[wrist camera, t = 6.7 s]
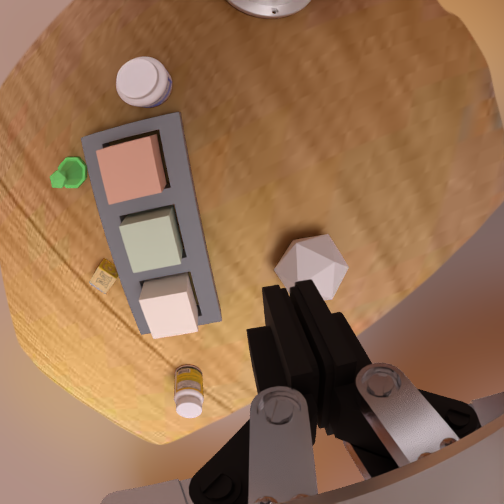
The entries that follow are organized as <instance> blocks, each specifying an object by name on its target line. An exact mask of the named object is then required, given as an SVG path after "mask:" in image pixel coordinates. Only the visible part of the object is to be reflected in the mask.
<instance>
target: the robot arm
mask: <svg viewBox="0 0 504 504" xmlns="http://www.w3.org/2000/svg"><path fill="white" fill-rule="evenodd" d="M227 1H228V2H229V3H230V4H231V5H232V6H233V7H235V8H236V9H238V10H239V11H242V12H244V13H246V14H248V15H252V16H255V17H260V18H282V17H287V16H290V15H293V14H295V13H297V12H298V11H300V10H302V9H303V8H304V7H305V6H306V5H307V4H308V3H309V2H310V1H311V0H227ZM272 12H275V14H273V13H272ZM262 294H263V304H264V314H265V324H266V326H263V327H257V328H251V329H247V337H248V344H249V350H250V356H251V362H252V367H253V372H254V377H255V382H256V387H257V392H258V395H256V396H255V398H254V399H253V401H252V403H251V408H250V419H249V420H248V421H247V422H246V423H245V424H244V426H242V428H241V429H240V430H239V431H238V432H237V433H236V434H235V435H234V436H233V437H232V438H231V439H230V440H229V441H228V442H227V443H226V444H225V445H224V446H223V447H222V448H221V449H220V450H219V451H218V452H217V453H216V454H215V455H214V456H213V457H212V458H211V459H210V460H209V461H208V462H207V463H206V464H205V465H204V466H203V467H202V468H201V469H200V470H199V471H198V472H197V473H196V474H195V475H194V476H193V478H190V479H186V480H182V481H179V480H178V479H175V480H171V481H167V482H163V483H158V484H154V485H149V486H144V487H139V488H133V489H128V490H122V491H116V492H113V493H110V494H108V495H107V496H106V497H105V498H104V499H103V500H102V503H101V504H504V392H501V393H498V394H494V395H491V396H487V397H483V398H480V399H475V400H472V401H471V402H470V404H466V403H464V402H461V401H458V400H455V399H451V398H447V397H444V396H440V395H437V394H433V393H429V392H427V391H423V390H420V389H417V388H416V387H415V386H414V385H413V384H412V383H411V381H410V380H409V379H408V378H407V377H406V376H405V375H404V373H403V372H402V371H401V370H399V369H398V368H397V367H395V366H393V365H391V364H386V363H374V364H372V363H371V361H370V359H369V358H368V356H367V354H366V352H365V351H364V349H363V347H362V346H361V344H360V342H359V340H358V339H357V337H356V335H355V334H354V332H353V330H352V329H351V327H350V325H349V324H348V322H347V320H346V319H345V317H344V315H343V314H342V313H341V312H337V313H332V314H331V312H330V310H329V309H328V307H327V305H326V303H325V301H324V300H323V298H322V296H321V294H320V293H319V291H318V289H317V287H316V286H315V284H314V282H313V281H312V279H309V280H303V281H297V282H295V286H293V287H290V297H289V295H288V292H287V290H286V288H282V289H280V287H279V285H274V286H268V287H262ZM317 425H318V427H319V428H325V430H326V433H327V435H332V434H334V435H335V437H336V438H338V439H341V440H343V443H344V446H345V448H346V450H347V451H348V453H349V455H350V456H351V458H352V459H353V461H354V463H355V464H356V466H357V468H358V469H359V471H360V473H361V474H362V476H363V477H364V479H365V481H362V482H359V483H355V484H352V485H349V486H346V487H342V488H339V489H336V490H332V491H328V492H324V493H321V494H318V489H317V480H316V473H315V472H316V471H315V463H314V454H313V445H314V443H315V437H316V427H317Z"/></svg>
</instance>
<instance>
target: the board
mask: <svg viewBox="0 0 504 504" xmlns="http://www.w3.org/2000/svg"><path fill="white" fill-rule="evenodd" d="M158 129H159V130H160V136H161V141H162V146H163V152H164V157H165V162H166V167H167V172H168V176H169V181H170V183H169V184H166V185H165V187H164V189H163V191H162V193H157V194H153V195H148V196H144V197H140V198H135V199H131V200H127V201H123V202H118V203H114V204H110V205H109V204H108V200H107V196H106V192H105V188H104V184H103V180H102V176H101V171H100V167H99V163H98V158H97V154H96V151H97V150H100V149H103V148H105V147H108V146H110V144H109V142H111V141H115V140H118V139H122V138H126V137H130V136H133V135H137V134H141V133H145V132H150V131H154V130H158ZM81 141H82V146H83V151H84V155H85V160H86V164H87V168H88V173H89V177H90V181H91V185H92V189H93V193H94V197H95V200H96V204H97V208H98V211H99V215H100V218H101V222H102V225H103V229H104V232H105V235H106V239H107V242H108V245H109V248H110V251H111V254H112V257H113V261H114V264H115V266H116V269H117V272H118V275H119V278H120V281H121V284H122V287H123V289H124V292H125V295H126V297H127V300H128V303H129V305H130V308H131V311H132V313H133V316H134V318H135V321H136V323H137V326H138V328H139V331H140V333H141V335H142V334H149V333H151V332H150V329H149V326H148V324H147V321H146V319H145V316H144V313H143V311H142V308H141V305H140V302H139V298H140V294H141V291H142V287H143V284H144V281H145V280H148V279H153V278H158V277H163V276H169V275H174V274H179V273H185V272H191V276H192V279H193V283H194V287H195V291H196V295H197V298H198V302H199V305H197V309H198V325H203V324H209V323H214V322H220V321H222V317H221V309H220V304H219V300H218V296H217V292H216V287H215V283H214V278H213V274H212V269H211V265H210V260H209V256H208V251H207V247H206V242H205V237H204V232H203V228H202V223H201V218H200V213H199V208H198V203H197V198H196V193H195V188H194V183H193V178H192V173H191V167H190V162H189V157H188V151H187V146H186V140H185V135H184V129H183V123H182V118H181V112H176V113H171V114H166V115H162V116H158V117H153V118H149V119H145V120H141V121H137V122H133V123H129V124H126V125H122V126H118V127H115V128H111V129H108V130H104V131H101V132H98V133H94V134H91V135H88V136H85V137H82V138H81ZM172 204H175V209H176V213H177V218H178V222H179V226H180V231H181V235H182V239H183V243H184V248H185V249H183V252H182V260H181V264H178V265H173V266H168V267H163V268H157V269H152V270H147V271H142V272H137V273H133V271H132V268H131V265H130V262H129V258H128V255H127V252H126V249H125V245H124V242H123V239H122V235H121V232H120V228H119V226H120V224H121V223H122V221H123V220H124V219H125V217H126V215H127V214H131V213H135V212H140V211H144V210H149V209H153V208H158V207H163V206H167V205H172Z"/></svg>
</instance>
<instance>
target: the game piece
mask: <svg viewBox="0 0 504 504" xmlns="http://www.w3.org/2000/svg"><path fill="white" fill-rule="evenodd" d="M86 179H87V165H86V164H85V163H84V161H83V160H82V159H81V158H80V157H66V158H65V159H64V161H63V162H62V163H61V164H60V165H59V166H58V170H56V171H55V172H54V173H53V174H52V175H51V176H50V180H51V184H52V187H54V188H62V187H63V186H65V187H66V188H78V187H79V186H80V185H81V184H82V183H83V182H84V181H85V180H86Z"/></svg>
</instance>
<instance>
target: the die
mask: <svg viewBox="0 0 504 504" xmlns="http://www.w3.org/2000/svg"><path fill="white" fill-rule="evenodd" d="M348 268H349V267H348V265H347V264H346V262H345V260H344V259H343V257H342V255H341V254H340V252H339V250H338V249H337V247H336V246H335V244H334V242H333V241H332V239H331V238H330V236H329V234H325V235H319V236H313V237H307V238H301V239H296V240H293V241H292V242H291V244H290V245H289V247H288V249H287V250H286V252H285V253H284V255H283V256H282V258H281V259H280V261H279V263H278V264H277V266H276V267H275V269H274V271H275V272H276V274H277V275H278V277H279V278H280V280H281V281H282V283H283V284H284V286H285V287H286V289H287V290H288V292H289V293H290V287H293V286H295V282H297V281H303V280H309V279H312V281H313V282H314V284H315V286H316V287H317V289H318V291H319V293H320V294H321V296H322V298H323V300H332V299H333V297H334V295H335V293H336V291H337V289H338V287H339V285H340V283H341V281H342V279H343V278H344V276H345V274H346V272H347V270H348Z"/></svg>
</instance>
